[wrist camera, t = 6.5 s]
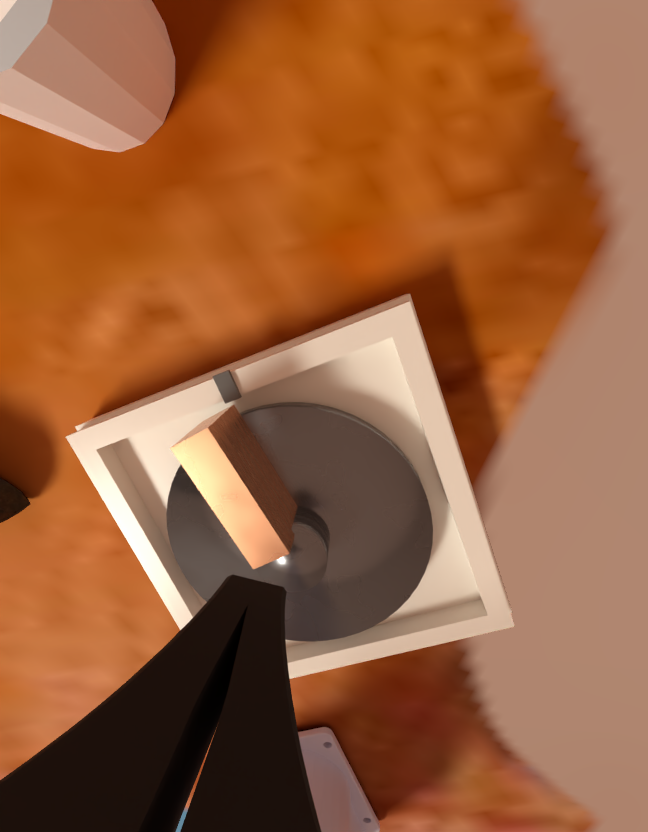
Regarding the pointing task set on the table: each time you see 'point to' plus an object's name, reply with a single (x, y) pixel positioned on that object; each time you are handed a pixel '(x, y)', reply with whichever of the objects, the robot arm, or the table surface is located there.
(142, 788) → the robot arm
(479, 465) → the table surface
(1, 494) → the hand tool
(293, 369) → the dial plate
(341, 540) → the dial
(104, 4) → the white cylinder
